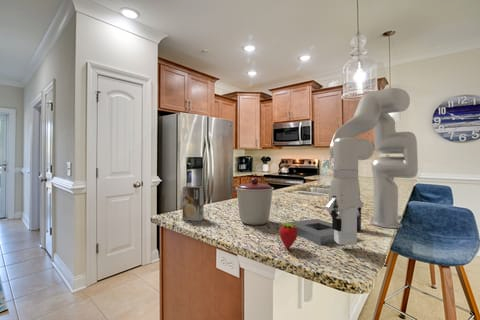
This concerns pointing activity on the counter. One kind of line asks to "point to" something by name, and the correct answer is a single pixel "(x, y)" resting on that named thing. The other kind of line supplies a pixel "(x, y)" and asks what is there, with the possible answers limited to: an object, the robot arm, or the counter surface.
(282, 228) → the strawberry
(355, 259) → the counter surface
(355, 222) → the skincare box
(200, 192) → the coffee box
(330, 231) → the housing
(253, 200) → the canister
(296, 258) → the counter surface
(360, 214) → the supplement bottle
